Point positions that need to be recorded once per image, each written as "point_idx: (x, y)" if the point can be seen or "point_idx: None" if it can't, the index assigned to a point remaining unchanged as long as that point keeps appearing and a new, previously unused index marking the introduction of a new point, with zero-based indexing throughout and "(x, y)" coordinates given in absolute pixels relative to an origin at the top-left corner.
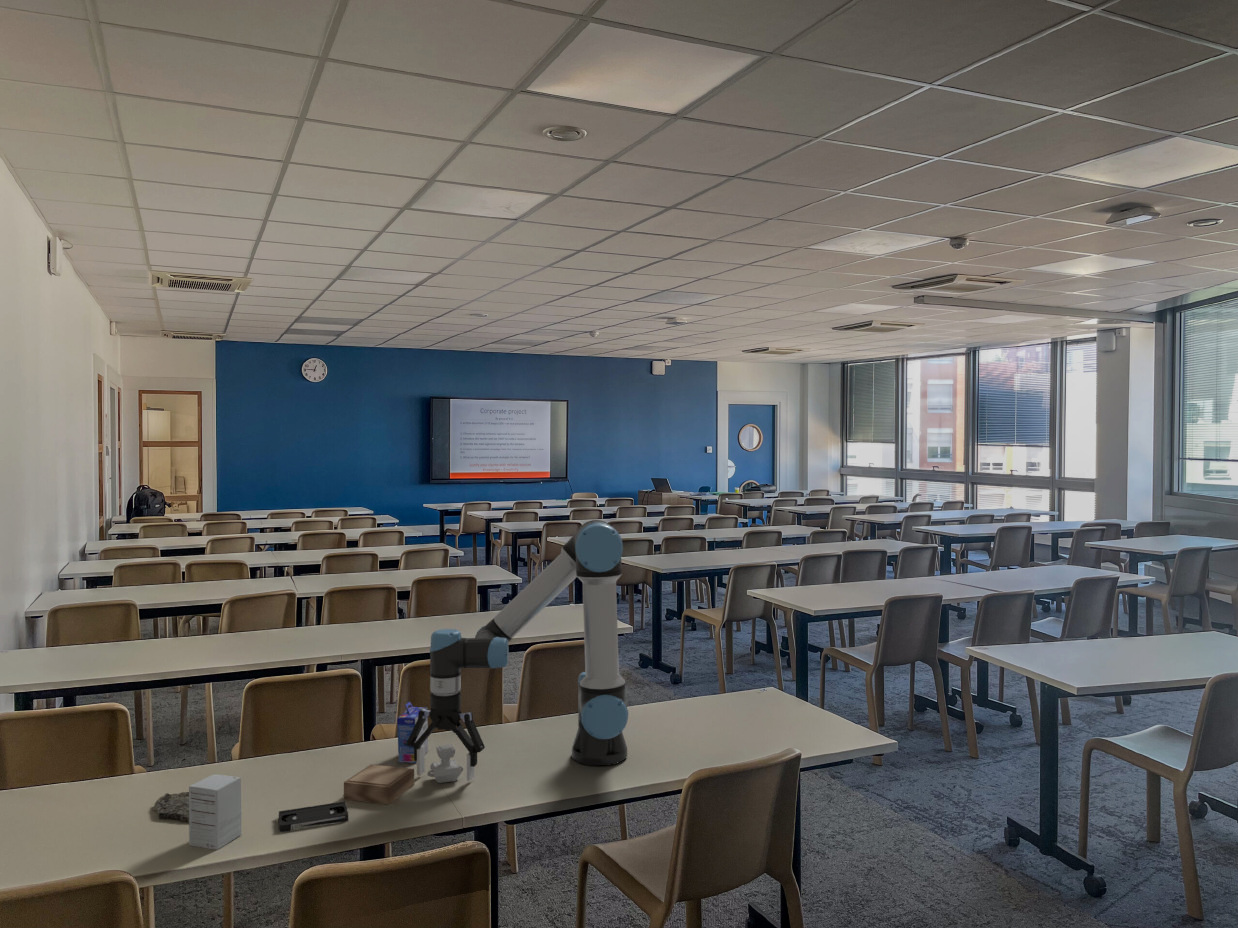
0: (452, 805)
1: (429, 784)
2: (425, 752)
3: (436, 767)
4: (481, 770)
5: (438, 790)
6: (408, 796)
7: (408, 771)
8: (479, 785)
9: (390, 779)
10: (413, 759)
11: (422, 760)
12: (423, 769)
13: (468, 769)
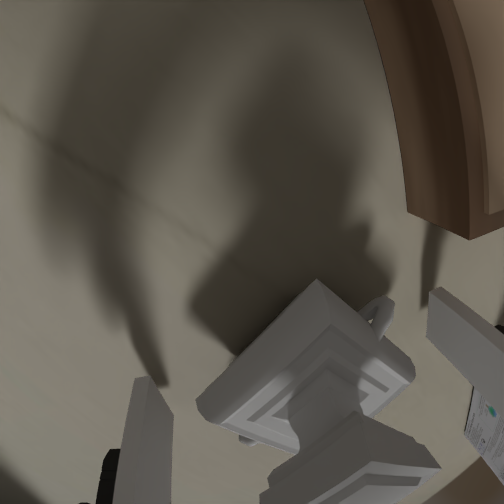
0: (13, 103)
1: (340, 261)
2: (467, 424)
3: (356, 353)
4: (220, 466)
5: (230, 219)
6: (335, 59)
7: (478, 183)
8: (94, 375)
9: (470, 2)
10: None
11: (466, 354)
12: (435, 334)
13: (130, 424)
